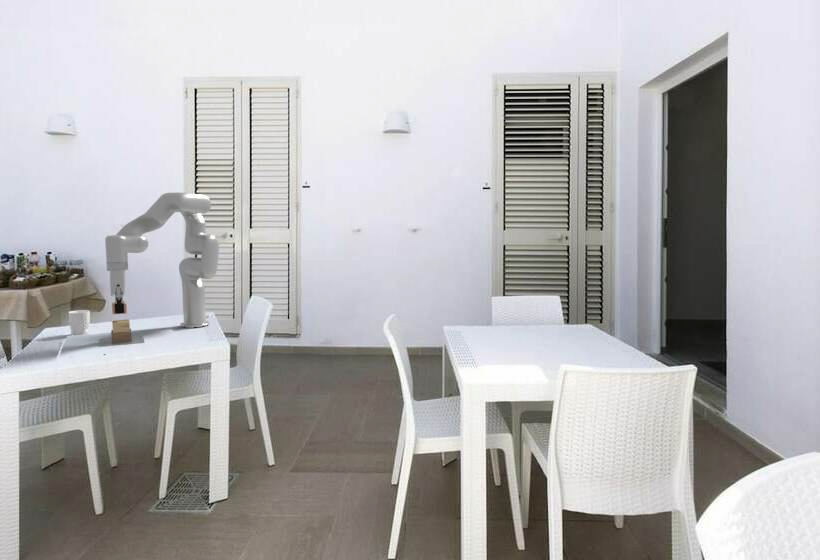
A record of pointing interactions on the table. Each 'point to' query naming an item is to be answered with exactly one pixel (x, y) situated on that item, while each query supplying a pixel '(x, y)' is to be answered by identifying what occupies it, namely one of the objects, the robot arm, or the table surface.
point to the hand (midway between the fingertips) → (119, 311)
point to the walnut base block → (121, 337)
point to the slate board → (108, 342)
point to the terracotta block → (119, 313)
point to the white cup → (79, 322)
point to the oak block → (121, 326)
